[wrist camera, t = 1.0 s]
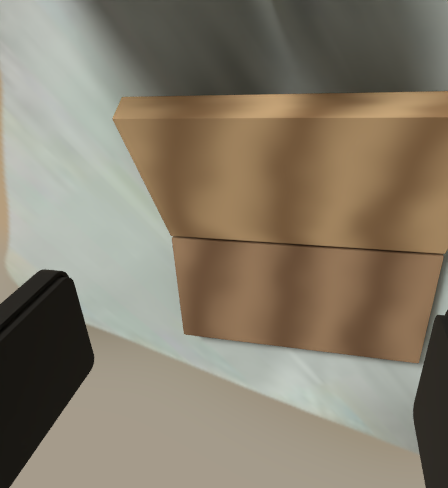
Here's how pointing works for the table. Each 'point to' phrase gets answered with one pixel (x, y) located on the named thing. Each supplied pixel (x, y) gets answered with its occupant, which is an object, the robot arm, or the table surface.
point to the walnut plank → (307, 295)
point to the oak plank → (296, 166)
